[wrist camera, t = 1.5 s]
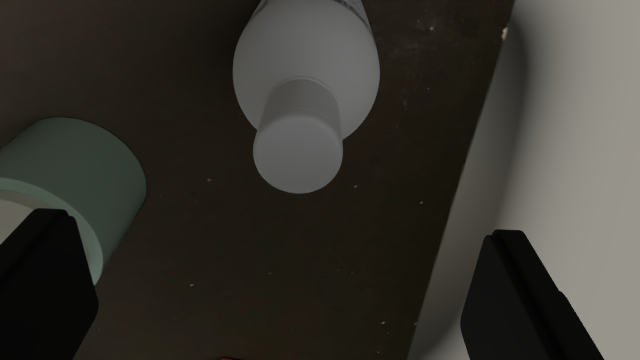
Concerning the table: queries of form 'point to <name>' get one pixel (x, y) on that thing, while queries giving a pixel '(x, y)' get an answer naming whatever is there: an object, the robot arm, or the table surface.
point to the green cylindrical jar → (73, 183)
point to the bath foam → (305, 86)
